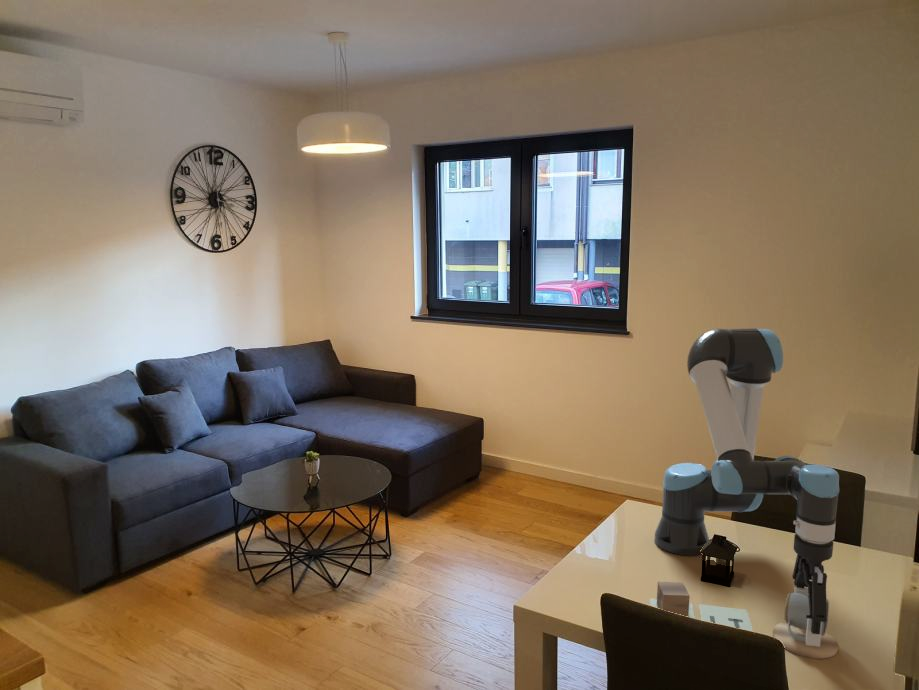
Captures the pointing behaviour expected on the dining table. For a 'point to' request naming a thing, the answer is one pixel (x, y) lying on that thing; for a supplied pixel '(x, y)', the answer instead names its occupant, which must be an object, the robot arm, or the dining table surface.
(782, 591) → the dining table surface
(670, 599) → the walnut block
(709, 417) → the robot arm
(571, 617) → the dining table surface
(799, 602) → the ceramic mug
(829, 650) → the coaster
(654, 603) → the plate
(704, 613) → the plate
